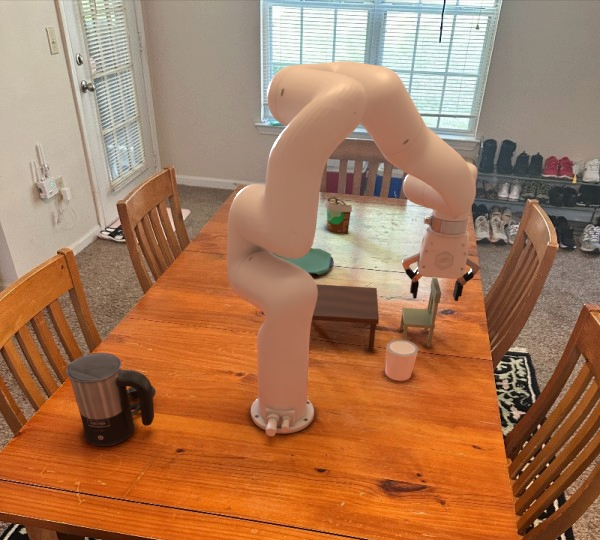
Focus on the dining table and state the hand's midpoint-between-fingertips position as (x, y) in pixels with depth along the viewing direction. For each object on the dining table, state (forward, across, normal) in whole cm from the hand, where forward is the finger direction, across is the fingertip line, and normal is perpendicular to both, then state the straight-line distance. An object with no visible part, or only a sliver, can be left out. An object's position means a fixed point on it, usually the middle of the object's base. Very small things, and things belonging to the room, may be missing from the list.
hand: (434, 297), depth 131 cm
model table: (+11, -22, 0) cm, 25 cm away
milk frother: (+12, -63, -38) cm, 74 cm away
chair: (+11, -3, 0) cm, 11 cm away
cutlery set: (+12, -39, +39) cm, 56 cm away
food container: (+12, -25, +70) cm, 75 cm away
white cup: (+12, -8, -16) cm, 21 cm away
